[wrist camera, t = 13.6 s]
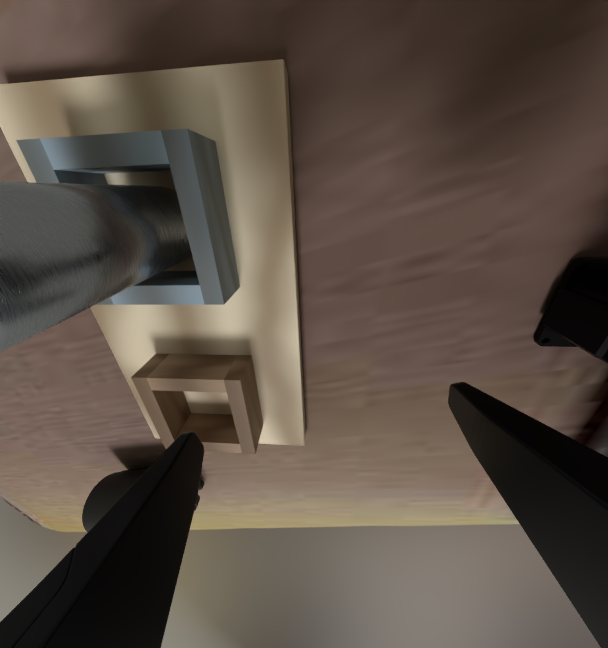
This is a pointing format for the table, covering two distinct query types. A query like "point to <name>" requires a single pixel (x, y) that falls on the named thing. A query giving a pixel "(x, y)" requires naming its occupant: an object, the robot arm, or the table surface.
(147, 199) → the grey long rounded piece
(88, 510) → the end cap
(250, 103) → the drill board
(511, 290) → the table surface
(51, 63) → the table surface
